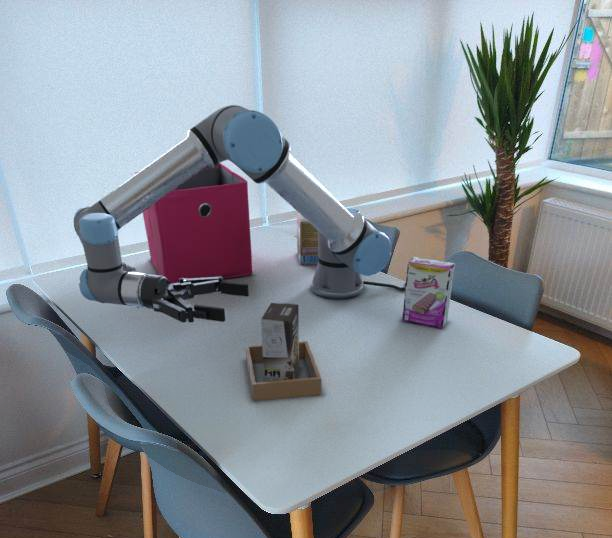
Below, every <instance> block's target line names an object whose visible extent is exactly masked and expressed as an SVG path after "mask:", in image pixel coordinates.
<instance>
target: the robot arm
mask: <svg viewBox="0 0 612 538" xmlns="http://www.w3.org/2000/svg"><path fill="white" fill-rule="evenodd" d="M225 161H229V162H231V163H232V164H233V165H235V166H236V167H237V168H238V169H240V170H241V172H243V173H244V174H245V175H246V176H247V177H248V178H249V179H251V180H252V181H253V182H254V183H255V184H259V185H261V184H266V185H267V186H268V187H269V188H270V189H271V190H273V191H274V192H275V193H276V194H277V195H278V196H280V197H281V198H282V200H284V201H285V202H286V203H287V204H288V205H289V206H290V207H292V208H293V209H294V210H295V211H296V213H297V212H298V213H300V214H301V215H302V216H303V217H304V218H305V219H306V220H307V221H308V222H309V223H311V224H312V225H313V226H314V227H315V228H316V229H317V230H318V264H316V265H317V266H316V269H315V272H314V275H313V278H312V281H311V291H312V292H313V294H316V295H317V296H320V297H323V298H326V299H336V300H339V299H340V300H341V299H344V300H345V299H350V298H351V299H352V298H355V297H357V296H359V295H361V294H362V293H363V292H364V285H366V286H375V287H382V288H389V289H395V290H397V291H399V292H400V291H401V292H403V291H404V292H405V288H406V282H405V283H404V286H403V287H400V286H399V285H396V284H395V285H394V284H389V283H383V282H374V281H366V280H363V276H365V277H369V276H370V277H371V276H373V275H376V274H378V273H380V272H381V271H383V269H385V267H386V266H387V264H388V263H389V261H390V258H391V255H392V250H393V249H392V248H393V247H392V242H391V240H390V238H389V237H388V235H387V234H385V233H384V232H383V231H379V230H378V229H376V228H375V227H374V226H373V224H371V222H369V221H368V220H367V219H366V218H365V217H364V216H363V215H362V214H361V211H360V210H359V209H356V208H346V206H344V205H343V204H342V202H340V201H339V200H338V199H337V198H336V197H335V196H334V195H333V194H332V193H331V192H330V191H329V190H328V189H327V188H326V186H324V184H322V183H321V182H320V181H319V180H318V179H317V178H316V177H315V176H314V175H313V174H312V173H311V172H310V171H309V170H308V169H307V168H306V167H305V166H304V165H303V164H302V163H301V162H300V161H299V160H298V159H297V158H296V157H295V156H293V154H291V145H290V142H289V140H287V139H286V138H285V137H284V136H283V135H282V133H281V131H280V129H279V127H278V125H277V124H276V123H275V122H274V120H272V118H270V117H269V116H268V115H266V114H265V113H262V112H260V111H257V110H252V109H249V108H246V107H244V106H241V105H238V104H237V105H236V104H229V105H224V106H222V107H220V108H218V109H216V110H215V111H213V112H212V113H210V114H209V115H208V116H206V117H205V118H203V119H202V120H201V121H200V122H198V123H197V124H195V125H194V126H193V127H191V128H189V129H188V130H187V136H186V137H185V138H184V139H183V140H182V141H180V142H179V143H178V144H176V145H174V146H173V147H171V148H170V149H169V150H168V151H166V152H165V153H164V154H162V155H160V156H159V157H158V158H156V159H155V160H154V161H152V162H151V163H149V164H148V165H147V166H145V167H144V168H143V169H141V170H140V171H138V172H139V173H137V174H136V175H135V174H134V175H133V176H131V177H130V178H129V179H127V180H126V181H125V182H123V183H122V184H120V185H119V186H117V187H116V188H115V189H114V190H112V191H111V192H109V193H108V194H106V195H105V196H104V197H102V198H101V199H100V200H98V201H96V202H95V203H94V204H92V205H86V206H82V207H80V208H79V209H77V211H76V212H75V213H74V216H73V228H74V232H75V234H76V235H77V236H78V238H79V240H80V243H81V246H82V248H83V252H84V256H85V262H86V265H87V266H86V268H84V269H83V270H82V271H81V273H80V276H79V280H80V281H79V283H78V288H79V291H80V294H81V295H82V296H83V297H84V298H85V299H86V300H88V301H93V302H98V303H100V304H113V305H122V306H128V307H134V308H135V307H136V308H137V309H140V308H146V309H149V310H153V311H154V312H157V313H162V314H163V315H166V316H168V317H170V318H172V319H174V320H176V321H178V322H181V323H194V322H195V319H199V320H207V321H214V322H221V323H224V322H225V321H226V312H225V307H217V306H209V305H201V304H194V305H193V306H192V305H191V304H190V303H189V302H187V301H186V300H190V299H194V298H195V296H201V295H208V294H215V293H220V294H221V295H228V296H229V295H230V296H238V297H250V289H249V288H250V287H249V283H242V282H241V283H240V282H233V281H232V282H231V281H224V279H223V277H221V276H219V277H205V278H180V279H179V283H173V284H171V283H170V282H169V281H168V279H167V278H166V277H165V276H160V275H159V274H152V273H151V274H148V273H146V272H145V273H144V272H135V271H134V272H127V271H124V270H123V263H124V262H123V259H122V254H121V246H120V239H119V230H120V229H122V228H123V227H124V226H126V225H128V223H131V221H133V220H134V219H136V218H137V217H138V216H140V215H141V214H143V213H142V212H144V211H145V210H147V209H148V208H149V207H151V206H152V205H154V204H155V203H156V202H158V201H159V200H161V199H162V198H163V197H165V196H166V195H168V194H169V193H170V192H172V191H173V190H175V189H176V188H177V187H179V186H180V185H182V184H183V183H184V182H186V181H187V180H189V179H190V178H191V177H193V176H194V175H196V174H197V173H198V172H200V171H201V170H202V169H204V168H205V167H211V168H213V167H215V166H216V165H217V164H219V163H223V162H225Z"/></svg>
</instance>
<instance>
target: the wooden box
mask: <svg viewBox="0 0 612 538" xmlns="http://www.w3.org/2000/svg"><path fill="white" fill-rule="evenodd" d="M244 348H245V360H246V361H245V362H246V366H247V372H248V378H249V384H250V390H251V395H252V400H253V402H256V401H269V400H279V399H288V398H289V399H290V398H299V397H301V398H302V397H310V396H311V397H312V396H319V395H320V396H321V395H322V376H321V373H320V370H319V368H318V365H317V363H316V360H315V358H314V355H313V352H312V350H311V347H310V343H309V342H308V340H304V341H303V340H302V341H299V359H305V363H306V365H307V369H308V371H309V374H310V377H304V378H295V379H291V380H280V381H269V382H264V381H259V382H256V375H255V369H254V365H253V363H257V362H258V363H259V362H263V352H262V344H255V345H253V344H252V345H246V346H245V347H244Z"/></svg>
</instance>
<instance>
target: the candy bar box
mask: <svg viewBox="0 0 612 538" xmlns="http://www.w3.org/2000/svg"><path fill="white" fill-rule="evenodd" d="M455 269H456V263H455V262H448V261H443V260H442V261H441V260H437V259H430V258H424V257H416V256H412V258H410V260H409V261H408V262H407V269H406V277H405V278H406V279H405V283H406V288H405V290H404V300H403V307H402V317H401V319H402V322H405V323H412V324H418V325H422V326H427V327H432V328H437V329H443V328H444V326H445V325H446V324H447V322H448V318H449V310H450V304H451V297H452V289H453V284H454V283H453V282H454V275H455V271H456V270H455Z"/></svg>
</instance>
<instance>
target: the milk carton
mask: <svg viewBox="0 0 612 538" xmlns="http://www.w3.org/2000/svg"><path fill="white" fill-rule="evenodd" d="M296 252H297V253H296V254H297V258H298V262H299V265H300V266H308V265H311V266H312V265H318V230H317V229H316V228H315V227H314V226H313V225H312V224H311V223H309V222H308V221H307V220H306V219H305V218H304V217H303V216H302V215H301V214H300V213H298V212H297V211H296Z"/></svg>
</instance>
